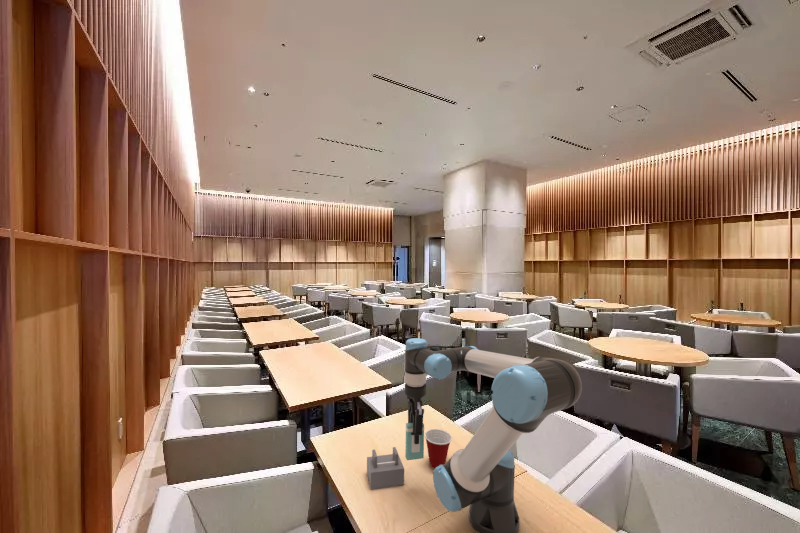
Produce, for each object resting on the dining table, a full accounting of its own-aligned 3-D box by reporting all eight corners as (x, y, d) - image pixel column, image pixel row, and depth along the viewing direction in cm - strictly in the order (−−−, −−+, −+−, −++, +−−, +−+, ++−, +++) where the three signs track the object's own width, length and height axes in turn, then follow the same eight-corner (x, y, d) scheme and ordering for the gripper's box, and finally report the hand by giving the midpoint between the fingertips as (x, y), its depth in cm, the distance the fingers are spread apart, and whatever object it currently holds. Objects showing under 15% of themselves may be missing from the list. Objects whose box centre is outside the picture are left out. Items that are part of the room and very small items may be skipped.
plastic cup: (441, 477, 132) (441, 445, 132) (418, 465, 139) (418, 435, 139) (457, 464, 140) (457, 434, 140) (434, 454, 147) (435, 425, 147)
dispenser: (403, 485, 127) (404, 457, 127) (370, 489, 124) (371, 461, 124) (397, 468, 137) (398, 443, 137) (366, 472, 134) (367, 446, 134)
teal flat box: (423, 458, 124) (424, 424, 124) (406, 460, 123) (407, 426, 123) (421, 454, 127) (422, 421, 126) (405, 456, 125) (405, 423, 125)
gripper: (432, 390, 118) (431, 460, 118) (419, 375, 132) (418, 437, 133) (410, 392, 116) (409, 463, 116) (400, 376, 131) (399, 439, 131)
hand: (414, 449), depth 125 cm, fingers closed on teal flat box, 2 cm apart
